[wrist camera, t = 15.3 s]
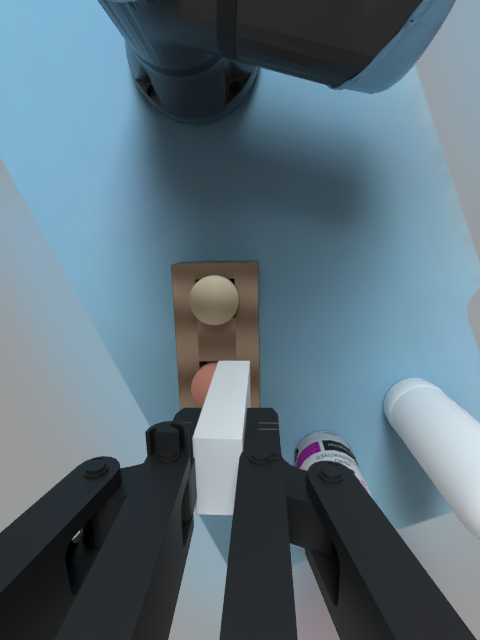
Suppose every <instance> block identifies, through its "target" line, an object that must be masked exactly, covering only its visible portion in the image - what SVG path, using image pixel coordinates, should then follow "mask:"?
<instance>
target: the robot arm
mask: <svg viewBox="0 0 480 640" xmlns="http://www.w3.org/2000/svg"><path fill="white" fill-rule="evenodd" d="M98 1H99V3H100V4H101V6H102V7H103V8H104V10H105V11H106V13H107V14H108V16H109V17H110V18H111V20H112V21H113V23H114V24H115V26H116V27H117V28H118V30H119V31H120V33H121V34H122V36H123V37H124V38H125V46H126V54H127V59H128V64H129V67H130V70H131V72H132V75H133V77H134V79H135V82H136V83H137V85H138V87H139V88H140V90H141V91H142V93H143V94H144V95H145V97H146V98H147V99H148V100H149V102H150V103H151V104H152V105H153V106H154V107H155V108H156V109H157V110H158V111H160V112H161V113H162V114H164V115H165V116H167V117H169V118H171V119H173V120H175V121H178V122H181V123H186V124H206V123H211V122H214V121H217V120H219V119H221V118H223V117H225V116H227V115H228V114H230V113H231V112H232V111H234V110H235V109H236V108H237V107H238V106H239V105H240V104H241V103H242V102H243V100H244V99H245V98H246V96H247V95H248V93H249V92H250V90H251V88H252V86H253V84H254V81H255V79H256V75H257V72H258V68H259V67H260V68H264V69H268V70H271V71H275V72H279V73H283V74H287V75H290V76H294V77H298V78H302V79H306V80H309V81H313V82H317V83H321V84H325V85H327V86H328V87H329V88H331V89H333V90H337V89H338V90H342V89H348V90H353V91H358V92H363V93H368V94H372V93H378V92H381V91H384V90H387V89H389V88H390V87H392V86H393V85H394V84H396V83H397V82H398V81H399V80H401V79H402V78H403V77H404V76H405V75H406V74H407V73H408V72H409V70H410V69H411V68H412V67H413V66H414V65H415V63H416V62H417V61H418V60H419V58H420V57H421V56H422V54H423V53H424V51H425V50H426V48H427V47H428V45H429V44H430V43H431V41H432V40H433V38H434V37H435V35H436V34H437V32H438V30H439V29H440V27H441V26H442V24H443V23H444V21H445V19H446V17H447V16H448V14H449V12H450V10H451V9H452V7H453V5H454V3H455V1H456V0H98ZM146 444H147V455H148V456H147V458H146V460H145V462H144V463H142V464H140V465H136V466H131V467H126V468H120V464H119V462H118V461H117V459H115V458H112V457H104V456H102V457H96V458H92V459H90V460H87V461H85V462H83V463H82V464H81V465H79V466H77V467H76V468H75V469H74V470H73V471H72V472H71V473H69V474H68V475H67V476H66V477H65V478H63V479H62V480H61V481H60V482H59V483H58V484H56V485H55V486H54V487H53V488H52V489H51V490H50V491H48V493H46V494H45V495H44V496H43V497H41V498H40V499H39V500H38V501H37V502H36V503H35V504H34V505H32V506H31V507H30V508H29V509H28V510H26V511H25V512H24V513H23V514H22V515H21V516H19V517H18V518H17V519H16V520H15V521H14V522H13V523H11V524H10V525H9V526H8V527H7V528H5V529H4V530H3V531H2V532H1V533H0V640H168V638H169V633H170V629H171V624H172V620H173V616H174V612H175V607H176V602H177V599H178V594H179V590H180V585H181V581H182V576H183V572H184V568H185V564H186V559H187V555H188V550H189V546H190V541H191V537H192V533H193V528H194V520H193V512H194V508H195V503H196V513H197V514H205V515H233V520H232V530H231V539H230V548H229V557H228V567H227V576H226V585H225V594H224V604H223V613H222V622H221V632H220V640H297V629H296V628H297V627H296V615H295V602H294V590H293V578H292V566H291V553H290V543H291V544H294V545H297V546H300V547H303V548H305V553H306V556H307V559H308V561H309V564H310V566H311V569H312V571H313V574H314V576H315V579H316V581H317V584H318V586H319V588H320V591H321V594H322V596H323V598H324V601H325V603H326V606H327V608H328V611H329V613H330V616H331V618H332V621H333V623H334V626H335V628H336V631H337V633H338V636H339V638H340V640H476V638H475V637H474V635H473V634H472V633H471V631H470V630H469V629H468V627H467V626H466V625H465V623H464V622H463V621H462V619H461V618H460V617H459V615H458V614H457V613H456V611H455V610H454V609H453V607H452V606H451V604H450V603H449V602H448V601H447V599H446V598H445V596H444V595H443V593H442V592H441V591H440V589H439V588H438V587H437V586H436V584H435V583H434V581H433V580H432V579H431V577H430V576H429V575H428V573H427V572H426V570H425V569H424V568H423V566H422V565H421V564H420V562H419V561H418V560H417V558H416V557H415V556H414V554H413V553H412V552H411V550H410V549H409V547H408V546H407V545H406V543H405V542H404V541H403V539H402V538H401V537H400V535H399V534H398V533H397V531H396V530H395V528H394V527H393V526H392V524H391V523H390V522H389V520H388V519H387V518H386V516H385V515H384V514H383V512H382V511H381V510H380V508H379V507H378V505H377V504H376V503H375V501H374V500H373V499H372V497H371V496H370V495H369V493H368V492H367V491H366V489H365V488H364V486H363V485H362V484H361V482H360V481H359V480H358V478H357V477H356V476H355V474H354V473H353V472H352V471H351V470H350V469H349V468H348V467H347V466H345V465H343V464H341V463H338V462H334V461H319V462H315V463H313V464H312V465H311V466H309V468H308V471H307V470H303V469H299V468H296V467H294V466H292V465H290V464H288V463H287V462H286V461H285V460H284V459H283V457H282V455H281V448H280V436H279V424H278V414H277V413H276V412H275V411H274V410H273V409H272V408H250V361H218V364H217V367H216V370H215V373H214V376H213V379H212V382H211V385H210V388H209V391H208V393H207V396H206V399H205V402H204V405H203V408H183V409H182V410H180V411H179V412H178V413H177V414H176V415H175V417H174V419H173V421H168V422H162V423H158V424H155V425H153V426H152V427H150V428H149V429H148V430H147V431H146ZM79 530H80V534H78V536H77V537H76V538H75V539H73V537H74V536H75V535H76V534H77V532H78V531H79ZM72 539H73V540H72Z"/></svg>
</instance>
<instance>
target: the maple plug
mask: <svg viewBox="0 0 480 640" xmlns="http://www.w3.org/2000/svg"><path fill="white" fill-rule="evenodd" d="M189 304H190V308H191V311H192V312H193V314H194V315H195V317H196V318H197V319H199V320H200V321H201V322H203V323H206V324H209V325H220V324H223V323H225V322H227V321H229V320H230V319H231V318H232V317H233V316H234V314H235V313H236V311H237V308H238V305H239V294H238V290H237V288H236V286H235V285H234V284H233V283H232V281H230V280H229V279H228V278H226V277H224V276H220V275H210V276H206V277H204V278H202V279H201V280H199V281H198V282H197V283H196V284H195V285H194V286H193V288H192V290H191V292H190V296H189Z"/></svg>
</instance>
